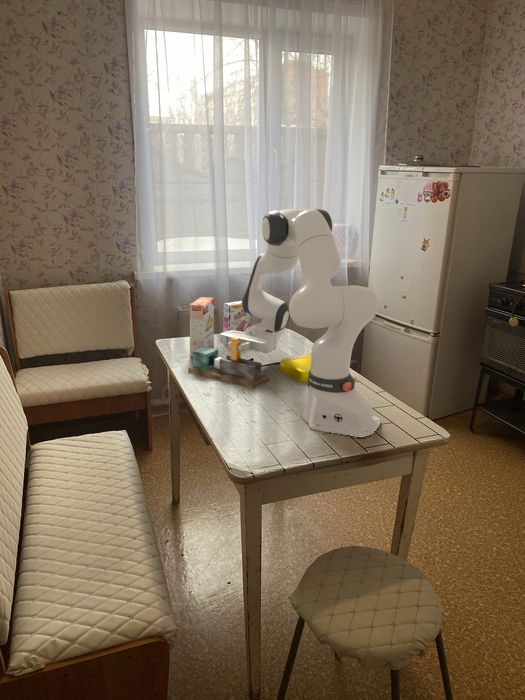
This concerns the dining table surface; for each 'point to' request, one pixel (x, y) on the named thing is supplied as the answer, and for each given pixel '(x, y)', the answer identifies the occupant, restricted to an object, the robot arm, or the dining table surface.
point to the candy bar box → (235, 317)
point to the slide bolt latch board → (227, 368)
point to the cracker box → (201, 324)
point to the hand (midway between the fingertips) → (234, 346)
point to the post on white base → (234, 352)
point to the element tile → (297, 367)
